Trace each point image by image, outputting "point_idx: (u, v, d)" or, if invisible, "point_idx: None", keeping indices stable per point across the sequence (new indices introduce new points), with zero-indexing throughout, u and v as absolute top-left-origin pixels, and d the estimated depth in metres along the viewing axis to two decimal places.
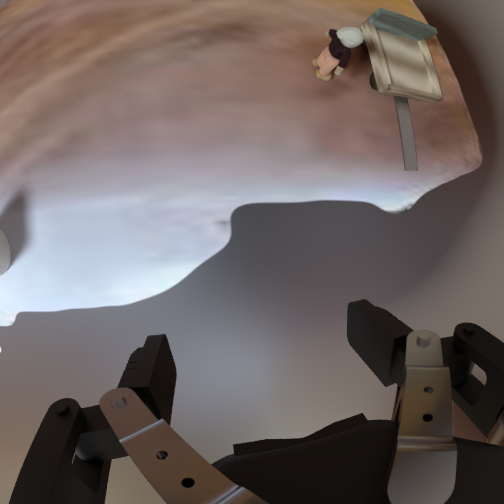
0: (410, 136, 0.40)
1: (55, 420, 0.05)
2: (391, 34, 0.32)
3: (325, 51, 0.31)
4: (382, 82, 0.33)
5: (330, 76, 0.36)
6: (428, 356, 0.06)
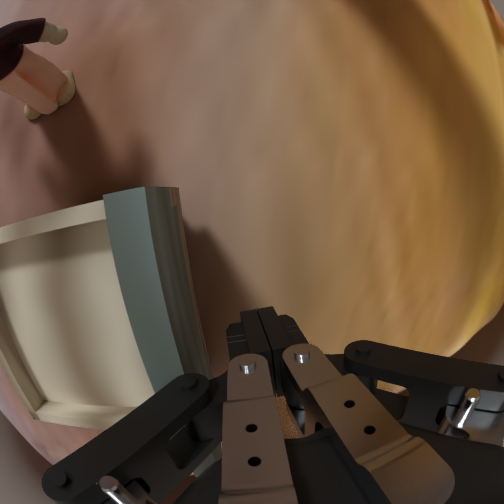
0: None
1: (174, 393, 0.07)
2: None
3: None
4: None
5: (26, 111, 0.12)
6: (293, 373, 0.07)
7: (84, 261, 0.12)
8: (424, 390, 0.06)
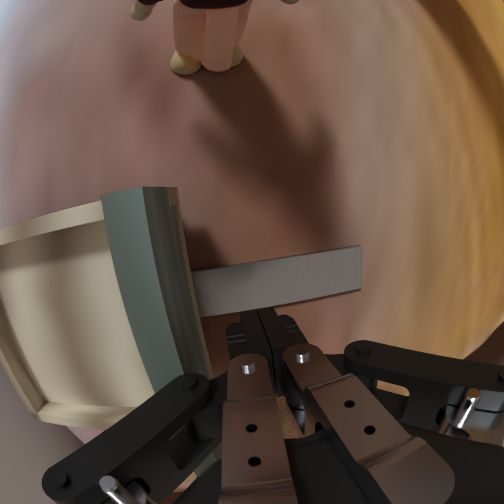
0: None
1: (174, 393, 0.07)
2: None
3: None
4: None
5: (178, 63, 0.13)
6: (293, 373, 0.07)
7: (84, 262, 0.12)
8: (424, 390, 0.06)
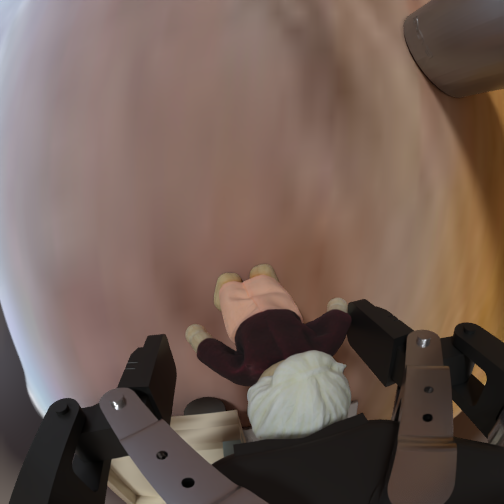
0: None
1: (55, 420, 0.05)
2: None
3: (276, 298, 0.14)
4: None
5: None
6: (428, 356, 0.06)
7: None
8: (497, 381, 0.05)
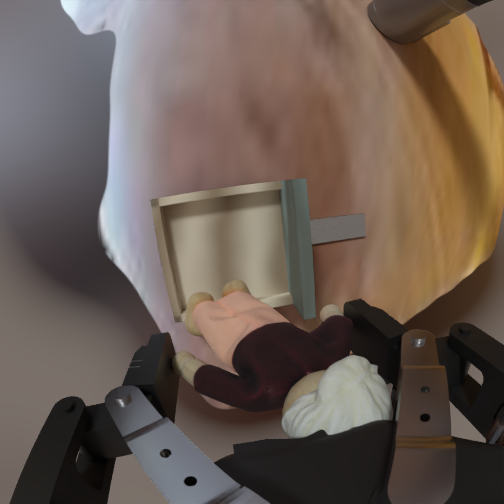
0: None
1: (60, 418, 0.05)
2: (280, 233, 0.29)
3: (264, 312, 0.13)
4: None
5: (198, 332, 0.15)
6: (423, 356, 0.06)
7: (242, 212, 0.28)
8: (493, 380, 0.05)
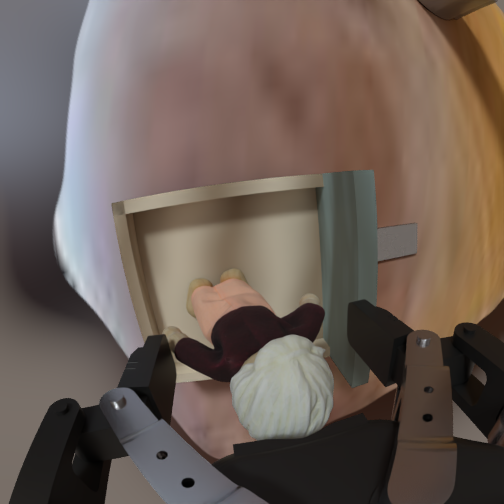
0: None
1: (55, 420, 0.05)
2: (316, 255, 0.19)
3: (249, 297, 0.14)
4: None
5: None
6: (428, 356, 0.06)
7: (259, 222, 0.18)
8: (497, 380, 0.05)
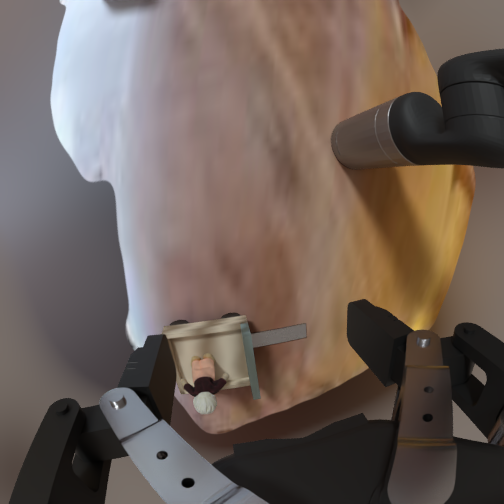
0: None
1: (55, 420, 0.05)
2: (242, 348, 0.45)
3: (208, 370, 0.41)
4: (170, 330, 0.43)
5: None
6: (428, 356, 0.06)
7: (217, 338, 0.44)
8: (497, 380, 0.05)
